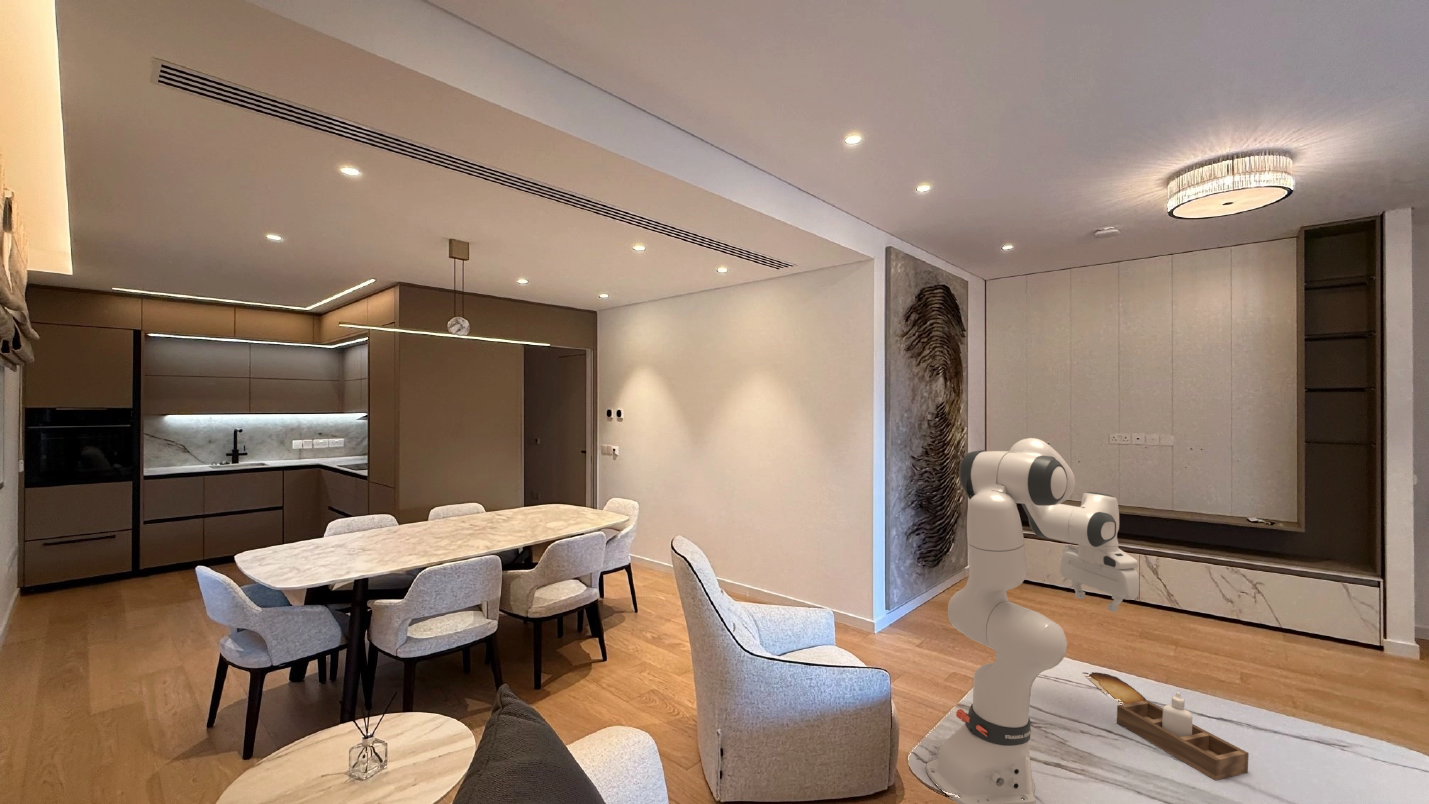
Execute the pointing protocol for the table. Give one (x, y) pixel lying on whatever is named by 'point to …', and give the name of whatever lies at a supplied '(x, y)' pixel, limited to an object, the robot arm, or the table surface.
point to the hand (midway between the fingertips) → (1095, 604)
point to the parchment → (1115, 688)
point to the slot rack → (1184, 742)
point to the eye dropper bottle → (1177, 717)
